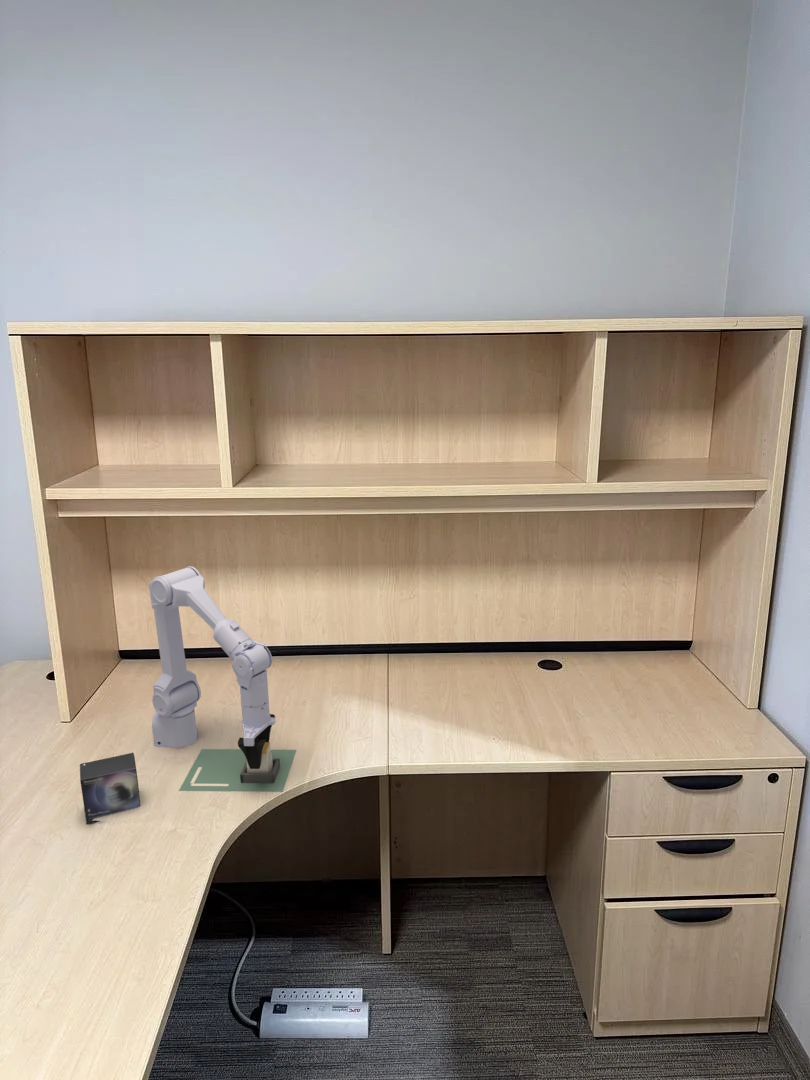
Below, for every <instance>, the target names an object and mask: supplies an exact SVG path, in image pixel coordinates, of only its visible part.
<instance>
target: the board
mask: <svg viewBox="0 0 810 1080" xmlns="http://www.w3.org/2000/svg"><path fill="white" fill-rule="evenodd" d="M270 751H271V752H272V761H273V770H272V773H247V763H246V757H245V755H244V753H243V751H242V750H241V749H240V748H238V749H237V748H231V749H229V748H201V749H200V751H199V753H198V755H197V757H196V759H195V760H194V762H193V763H192V766H191V768H190V769H189V771H188V773H187V775H186V777H185V778H184V780H183V783H182V784H181V785H180V788H179V789H178V792H257V793H258V792H260V793H262V792H264V793H265V792H266V793H267V792H269V793H274V792H275V793H282V792H283V791H284V789H285V785H286V783H287V779H288V777H289V773H290V771H291V768H292V764H293V761H294V758H295V755H296V752H297V749H270Z"/></svg>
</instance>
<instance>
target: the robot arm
mask: <svg viewBox="0 0 810 1080" xmlns="http://www.w3.org/2000/svg"><path fill="white" fill-rule="evenodd" d="M148 587H149V597H150V602H151V603H150V604H151V609H153V612H154V613H153V614H154V620H155V628H156V635H157V643H158V651H159V656H160V657H159V658H160V662H161V663H160V665H161V671H162V673H161V674H160V675H159V677H158V678H157V679H156V681H155V682H154V683H153V685H152V687H153V695H152V705H153V709H154V713H153V715H152V720H151V721H152V722H151V729H152V738H153V739H152V740H153V746H154V747H158V748H160V747H163V748H164V747H165V748H166V747H167V748H172V749H180V748H186V747H189V746H191V745H193V744H195V743H196V742H197V740H198V729H197V721H196V719H197V718H196V709H195V708H197V706H198V704H197V702H199V700H200V699H201V697H202V695H201V694H202V692H201V691H202V690H201V686H200V685H199V682H198V680H197V679H198V678H197V675H196V673H194V672H193V671H191V670H189V669H187V663H186V655H185V654H186V653H185V649H184V648H185V647H184V641H183V640H184V639H183V632H182V625H181V624H182V623H181V617H180V609H179V608H180V607H188V608H190V609H191V610H193V612H195V614H196V615H198V616H199V617H200V618H201V619H202V620H203V621H204V622H205V624H207V625H208V627H210V628H211V629H212V631H213V634H212V635H213V636H212V637H213V640H214V642H216V643H217V644H218V646H220V647H221V649H222V650H223V651H224V652H225V654H226V655H227V656H228V657H229V658H230V659H231V661H232V662H231V668H232V671H233V673H234V674H235V676H236V682H237V684H238V685H239V692H240V693H239V694H240V705H241V716H242V717H241V718H242V719H241V727H242V732H243V737H239V738H238V740H237V746H238V749H241V750H242V751H243V753H244V755H245V757H246V759H247V762H248V765H249V767H250V769H260V766H261V758H262V750H263V746H264V744H265V742H270V738H271V731H272V726H273V725H275V723H276V722H277V720H276V715H275V714H273V713H270V699H269V685H268V684H269V683H268V672H267V671H268V669H269V668H270V667H271V666H272V664H273V657H272V653H271V651H270V650H269V648H268V647H267V645H265V644H264V643H262V642H258V641H257V640H256V639H252V638H251V637H250V635H248V634H247V632H246V631H245V630H244V629H243V628H242V627H241V625H240V624H239V623H238V622H237V621H236V620H234V619H227V617H226V616H225V615H224V614H223V612H222V611H221V609H220V608H219V607H218V606H217V604H216V603H215V601H214V600H213V598H212V597H211V595H210V594H209V593H208V591H207V590H206V583H205V578H204V577H203V576H202V575H201V573H200V571H199V570H198V569H197V568H196V567H194V566H192V565H191V566H190V565H188V566H186V567H184V568H182V569H178V570H176V571H175V570H174V571H173V572H169V573H166V574H164V575H160V576H159V575H158V576H155V577H154V578H152V580H151V581H150V582H149V583H148Z"/></svg>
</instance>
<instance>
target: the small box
mask: <svg viewBox="0 0 810 1080" xmlns="http://www.w3.org/2000/svg"><path fill="white" fill-rule="evenodd" d="M79 780H80V787H81V795H82V801H83V808H84V810H83V811H84V815H85V823H86V825H89V824H93V823H97V822H99V820H94V819H97V818H100V817H104V816H109V815H113V814H117V813H121V812H122V813H123V812H126V811H130V810H133V809H137V808H140V807H141V799H140V797H141V796H140V790H139V789H140V788H139V780H138V771H137V765H136V758H135V754H134V752H130V753H125V754H121V755H116V756H111V757H106V758H103V759H98V760H93V761H88V762H82V763H80V764H79Z"/></svg>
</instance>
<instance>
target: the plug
mask: <svg viewBox="0 0 810 1080" xmlns="http://www.w3.org/2000/svg"><path fill="white" fill-rule="evenodd" d="M270 750H271V742H270V741H269V742H265V744H264V746H263V750H262V758H261V766H260V769H250V767H249V765H248V762H247V759H246V763H247V773H272V770H273V761H272V752H271V751H270Z"/></svg>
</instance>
